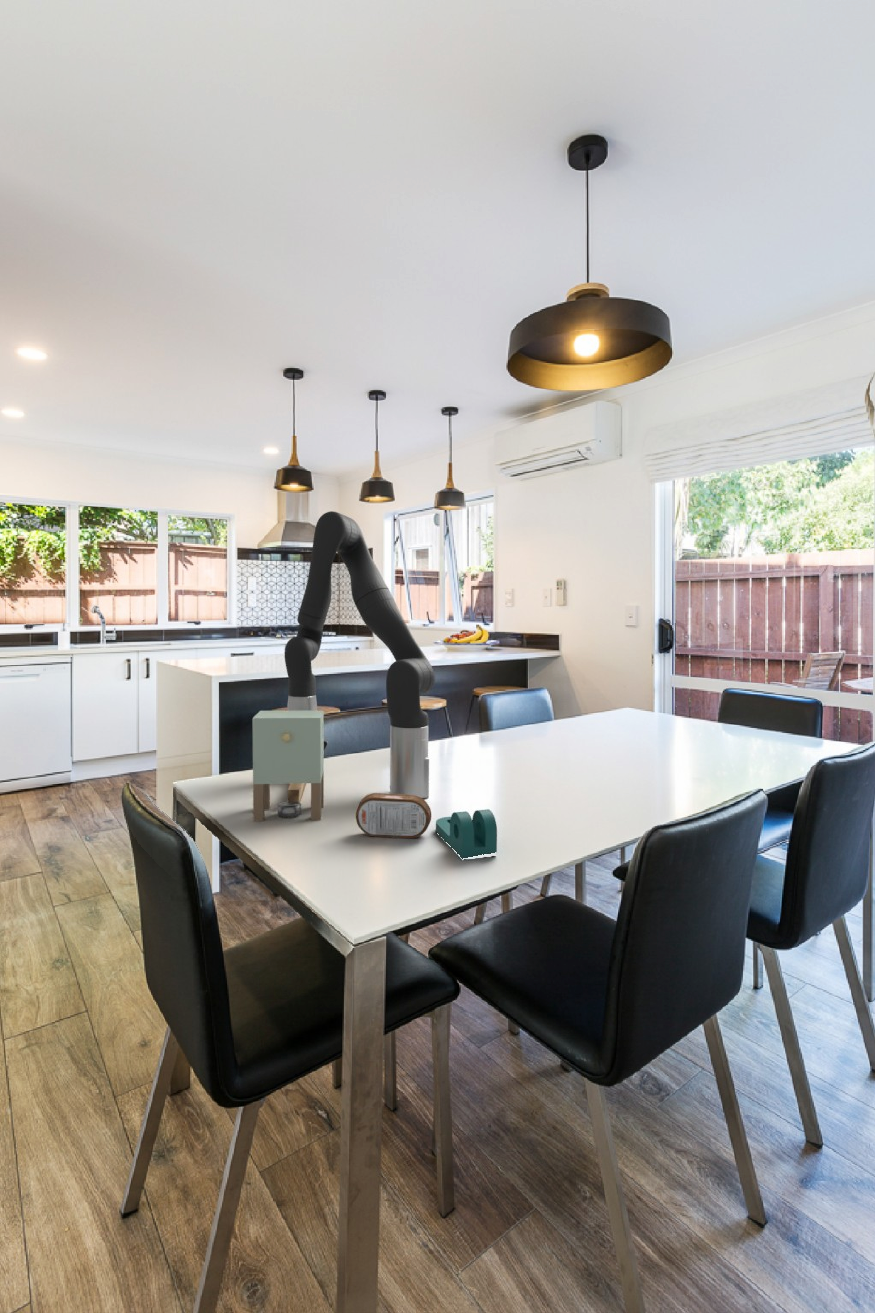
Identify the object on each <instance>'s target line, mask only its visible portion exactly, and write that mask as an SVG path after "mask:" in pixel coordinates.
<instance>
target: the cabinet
mask: <svg viewBox="0 0 875 1313" xmlns="http://www.w3.org/2000/svg"><path fill="white" fill-rule="evenodd" d="M324 713H325V712H324V710H323V709H322V710H318V709H317V711H287V710H259V711H258V713H256V714H255V715H254V716H253V717H252V797H253V798H252V805H253V806H252V807H253V808H252V811H253V812H252V813H253V818H252V820H253V822H264V821H265V817H266V816H265V812H266V811H265V809H268V810H270V808H271V785H277V784H278V785H280V784H281V785H282V784H283V785H284V784H285V785H287V784H288V785H290V784H292V783H307V784H310V820H311V821H318V820H319V821H320V820H321V819H322V809H324V806H325V805H324V804H325V800H324V799H325V798H324V797H325V796H324V795H325V794H324V792H325V790H324V789H325V788H324V786H325V783H324V782H325V780H324V778H325V776H324V774H325V773H324V772H325V768H324V767H325V766H324V764H325V763H324V761H325V760H324V759H325V758H324V756H325V755H324V751H325V750H324V740H325V738H324V737H325V735H324V732H325V729H324V728H325V727H324V722H325V721H324V716H325V714H324Z"/></svg>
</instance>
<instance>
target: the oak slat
mask: <svg viewBox="0 0 875 1313" xmlns="http://www.w3.org/2000/svg"><path fill="white" fill-rule="evenodd" d="M307 784H308V783H292V784H289V786H288V788H287V802H288V801H295V802H299V803H301V801H302V798H303V796H304V792H305V790H306V786H307Z"/></svg>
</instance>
